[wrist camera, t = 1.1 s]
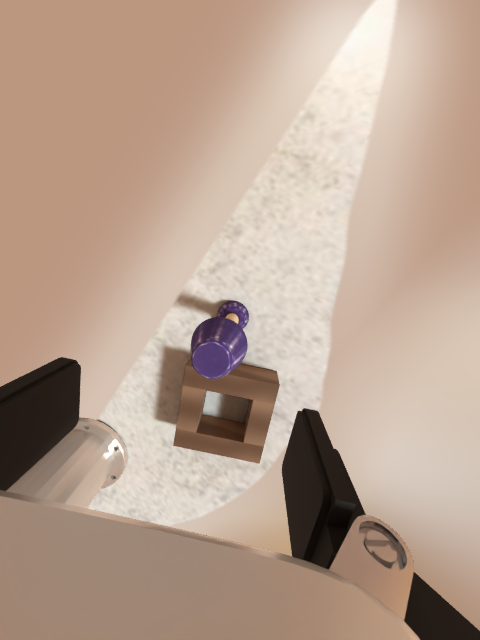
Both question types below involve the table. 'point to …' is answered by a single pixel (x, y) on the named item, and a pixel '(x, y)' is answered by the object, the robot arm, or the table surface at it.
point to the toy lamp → (220, 341)
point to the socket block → (223, 433)
